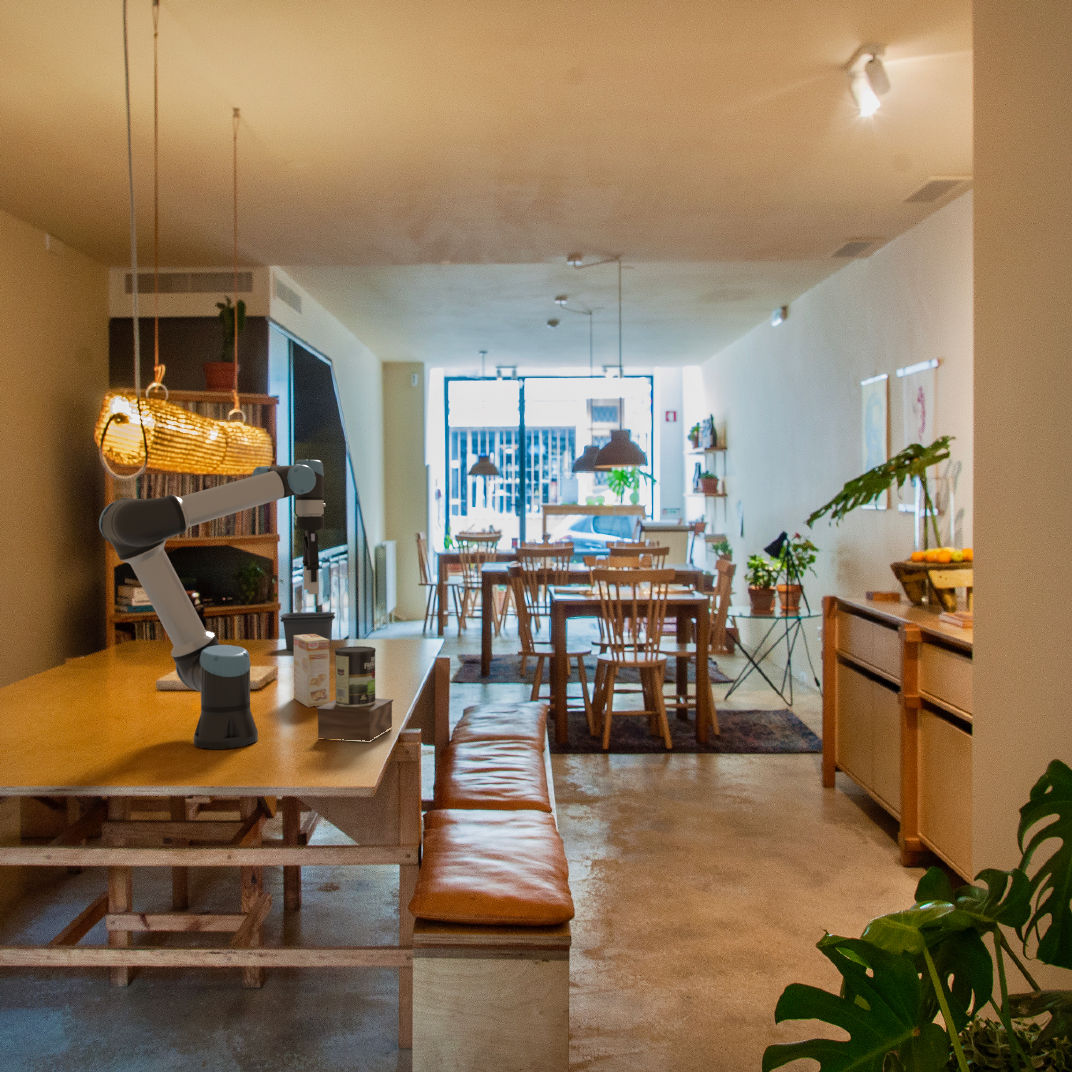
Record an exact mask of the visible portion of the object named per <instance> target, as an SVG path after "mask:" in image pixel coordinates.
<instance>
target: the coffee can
mask: <svg viewBox="0 0 1072 1072" xmlns="http://www.w3.org/2000/svg"><path fill="white" fill-rule="evenodd" d="M334 653H335V654H334V656H335V666H334V667H335V700H336V703H335V704H336V705H337V706H340V707H365V706H370V705H373V704H375V703H376V701H375V698H376V648H375V647H372V646H364V645H363V646H361V645H359V646H356V645H355V646H343V647H339V648H335V649H334Z"/></svg>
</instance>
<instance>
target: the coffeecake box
mask: <svg viewBox="0 0 1072 1072" xmlns="http://www.w3.org/2000/svg"><path fill="white" fill-rule="evenodd" d="M329 641H330V640H329V639H326V638H323V637H321V636H319V635H316V634H304V635H294V650H293V699H295V700H296V701H297V702H299V703H301V704H302V705H304V706H305V707H306V706H307V707H306V708H313V706H315V707H320V706H322V705H325V704H327V703H329V702H331V699H330V696H331V695H330V684H331V683H330V674H331V673H330V647H329Z"/></svg>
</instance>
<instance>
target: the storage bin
mask: <svg viewBox="0 0 1072 1072" xmlns="http://www.w3.org/2000/svg"><path fill="white" fill-rule="evenodd" d="M335 614H336V612H334V611H333V612H331V611H329V612H328V611H327V612H326V611H325V612H324V611H323V612H322V611H321V612H319V611H317V612H288V613H287V612H286V613H283V614H281V615H279V617H280V622H282V623H283V629H284V638H285V639H284V640H285V646H286V650H287V651H294V635H304V634H316V635H319V636H321V637H323V638H326V639H329V640H330V641H329V648H330V647H331V642H332V629H333V627H332V626H333V620H334V619H336V616H335Z"/></svg>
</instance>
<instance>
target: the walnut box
mask: <svg viewBox="0 0 1072 1072" xmlns="http://www.w3.org/2000/svg"><path fill="white" fill-rule="evenodd" d="M375 701H376V703H375V704H373V705H370V706H365V707H340V706H337V705H336V704H335V703H336V699H333V700H332V701H331V700H330V702H329V703H327V704H325V705H322V706H317V707H315V708H316V709H315V710H316V711H317V739H318V738H324V739H341V740H342V739H344V740H361V741H362V740H365V741H370V740H372V739H374V737H376V736H378V735H380V734H381V733H383V732H385V731H386V730H387V729H389V728H391V727H392V728H393V702H394V698H393V699H392V698H391V699H390V698H376V697H375Z"/></svg>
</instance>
